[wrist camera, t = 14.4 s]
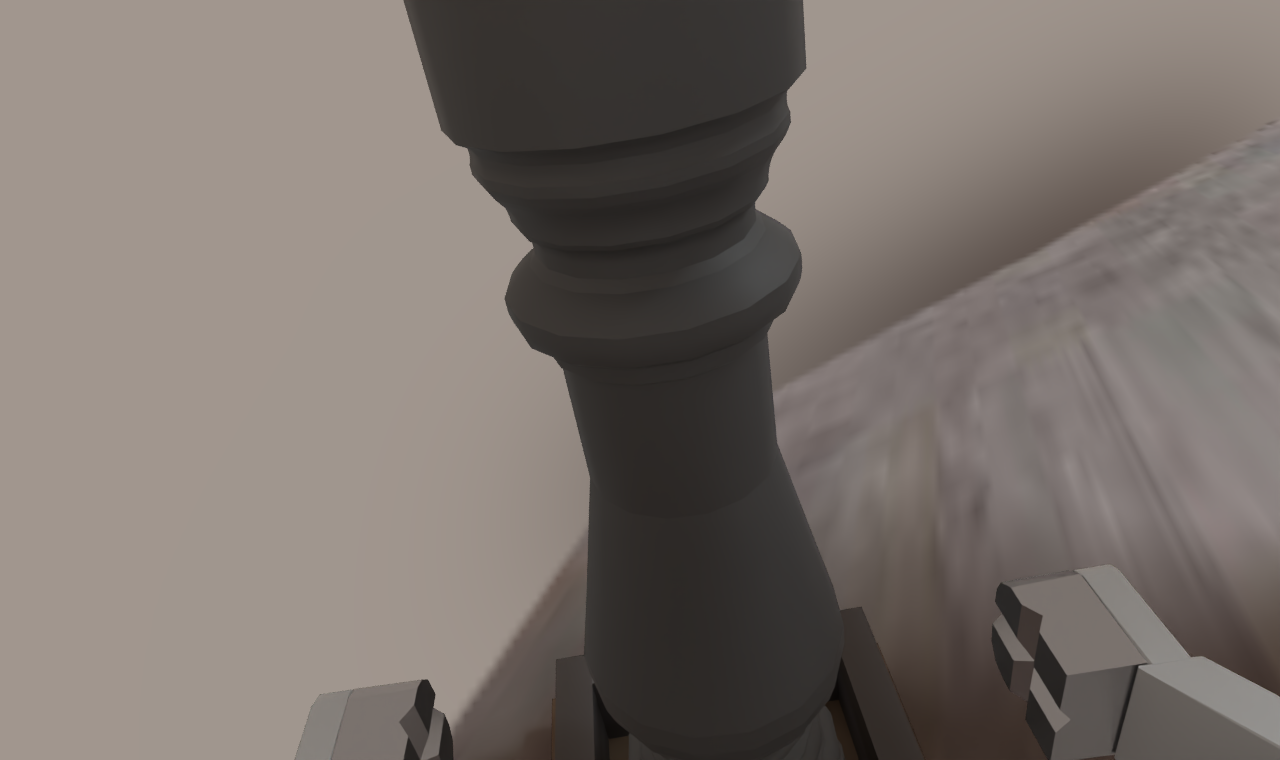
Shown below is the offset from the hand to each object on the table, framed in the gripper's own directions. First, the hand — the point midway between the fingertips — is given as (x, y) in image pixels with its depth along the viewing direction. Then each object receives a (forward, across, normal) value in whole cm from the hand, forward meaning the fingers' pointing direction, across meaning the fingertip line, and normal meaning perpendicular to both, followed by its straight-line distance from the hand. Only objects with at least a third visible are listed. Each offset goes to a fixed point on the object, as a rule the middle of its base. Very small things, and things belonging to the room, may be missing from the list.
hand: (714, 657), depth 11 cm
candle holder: (+6, 0, +15) cm, 16 cm away
